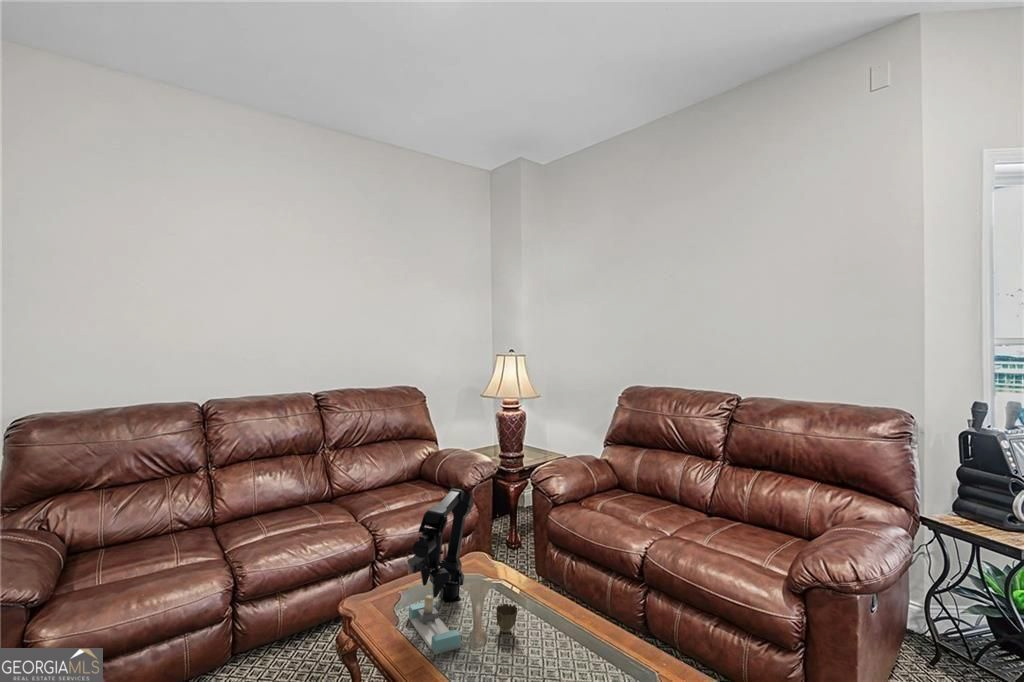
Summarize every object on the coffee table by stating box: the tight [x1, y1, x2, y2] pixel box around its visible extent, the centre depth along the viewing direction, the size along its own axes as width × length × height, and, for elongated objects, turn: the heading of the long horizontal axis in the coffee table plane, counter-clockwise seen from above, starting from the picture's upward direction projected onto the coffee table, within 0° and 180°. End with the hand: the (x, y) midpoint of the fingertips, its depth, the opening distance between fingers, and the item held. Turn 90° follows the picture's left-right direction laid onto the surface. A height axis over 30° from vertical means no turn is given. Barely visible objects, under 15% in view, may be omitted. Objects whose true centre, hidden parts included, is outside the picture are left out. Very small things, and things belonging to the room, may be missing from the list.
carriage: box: [417, 594, 439, 624], centre depth 183 cm, size 6×4×8 cm
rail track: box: [407, 600, 462, 656], centre depth 179 cm, size 9×23×4 cm, turn 32°
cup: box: [495, 603, 518, 634], centre depth 183 cm, size 8×7×8 cm
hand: (429, 591), depth 183 cm, fingers open, 9 cm apart
